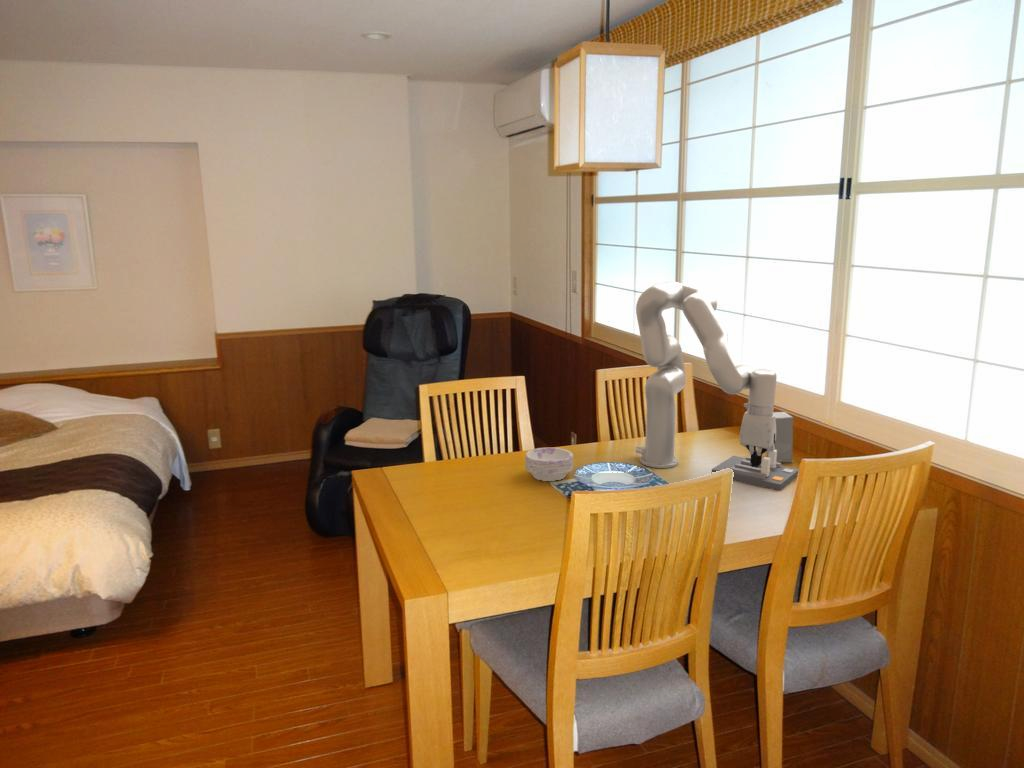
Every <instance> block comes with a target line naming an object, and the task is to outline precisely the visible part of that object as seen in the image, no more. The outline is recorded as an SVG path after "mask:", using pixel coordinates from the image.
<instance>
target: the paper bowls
mask: <svg viewBox="0 0 1024 768" xmlns="http://www.w3.org/2000/svg"><path fill="white" fill-rule="evenodd" d="M524 460H525V462H524V465H525V466H524V467H525V470H526V471H527V472H529V473H531V475H532V477H533V478H534V479H535V480H538V481H540V480H542V481H541V482H546V481H553V482H556V481H555V480H559V481H562V480H563V479H564V478H565V477H566V476H567V474H568V473H570V472H572V471H573V469H574V454H573V452H572V451H570V450H568V449H565V448H559V447H552V446H551V447H550V446H549V447H537V448H533V449H530V450H528V451H526V453H525V459H524ZM561 479H562V480H561Z"/></svg>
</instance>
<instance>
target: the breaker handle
mask: <svg viewBox="0 0 1024 768" xmlns="http://www.w3.org/2000/svg"><path fill="white" fill-rule="evenodd" d="M767 458H771V460H770V465H771V466H776V459H777V450H774V451H773V452H769V453H768V456H767Z"/></svg>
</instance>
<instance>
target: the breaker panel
mask: <svg viewBox="0 0 1024 768" xmlns="http://www.w3.org/2000/svg"><path fill="white" fill-rule="evenodd" d="M750 459H751V456H749V455H748V456H746V457H742V456H737V455H732V456H730V457H729V458H727V459H726V460H724V461H722V462H721V463H720V464H717V465H716V466H715V467H712V469H711V473H712V472H716V471H720V470H722V469H726V468H730V469H732V470H733V472H734V477H733V480H732V481H735V480H736V482H740V481H741V482H740V483H744V482H745V483H744V484H748V483H749V485H753V486H756V487H757V486H758V487H762V488H766V489H770V490H775V491H778V492H779V491H781V490H783V489H785V487H786V486H789V484H790V483H791V482H792V481H794V480H795V479H796V478H797V477H798V476H797V474H798V470H799V471H800V468H795V467H790V466H785V465H782V462H776V466H771V465H770V473H769V476H768V477H766V474H762V473H761V465H759V466H758V467H757V468H755V467H751V463H750ZM761 463H762V461H761Z"/></svg>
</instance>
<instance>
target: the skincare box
mask: <svg viewBox="0 0 1024 768" xmlns="http://www.w3.org/2000/svg"><path fill="white" fill-rule="evenodd" d="M773 415H775V419H776V442H775V445H774V446H775V450H777V459H776V462H778V463H793V451H794V449H793V443H794V442H793V441H794V435H793V434H794V416H792V415H790V414H789V413H788V412H786V411H775V412H774V411H773ZM765 453H766V457H768V453H769V452H765Z"/></svg>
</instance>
